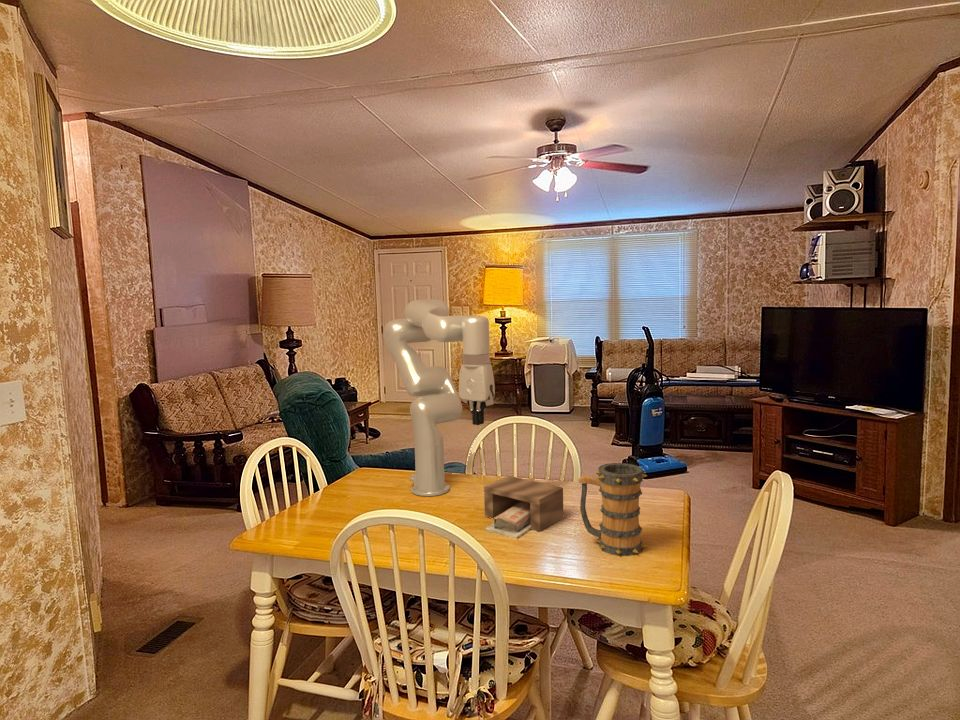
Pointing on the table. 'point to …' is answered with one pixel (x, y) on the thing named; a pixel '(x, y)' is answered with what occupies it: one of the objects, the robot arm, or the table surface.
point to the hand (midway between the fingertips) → (478, 423)
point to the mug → (616, 508)
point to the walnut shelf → (514, 490)
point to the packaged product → (512, 521)
